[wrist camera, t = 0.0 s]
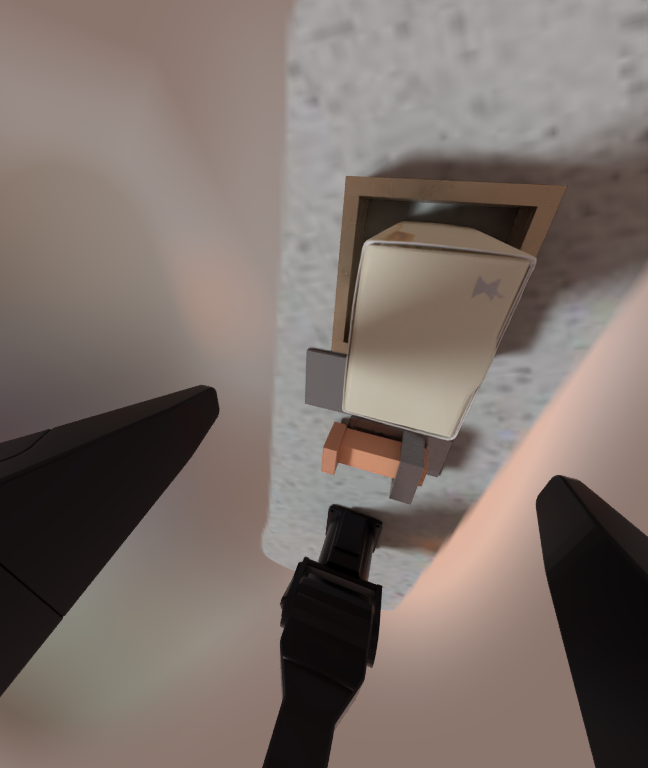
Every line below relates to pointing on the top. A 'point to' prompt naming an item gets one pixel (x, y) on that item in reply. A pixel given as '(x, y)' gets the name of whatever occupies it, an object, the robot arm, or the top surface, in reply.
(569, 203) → the top surface
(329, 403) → the coaster
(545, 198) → the open wooden box
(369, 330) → the skincare box
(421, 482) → the lock bar
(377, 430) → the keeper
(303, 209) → the top surface
